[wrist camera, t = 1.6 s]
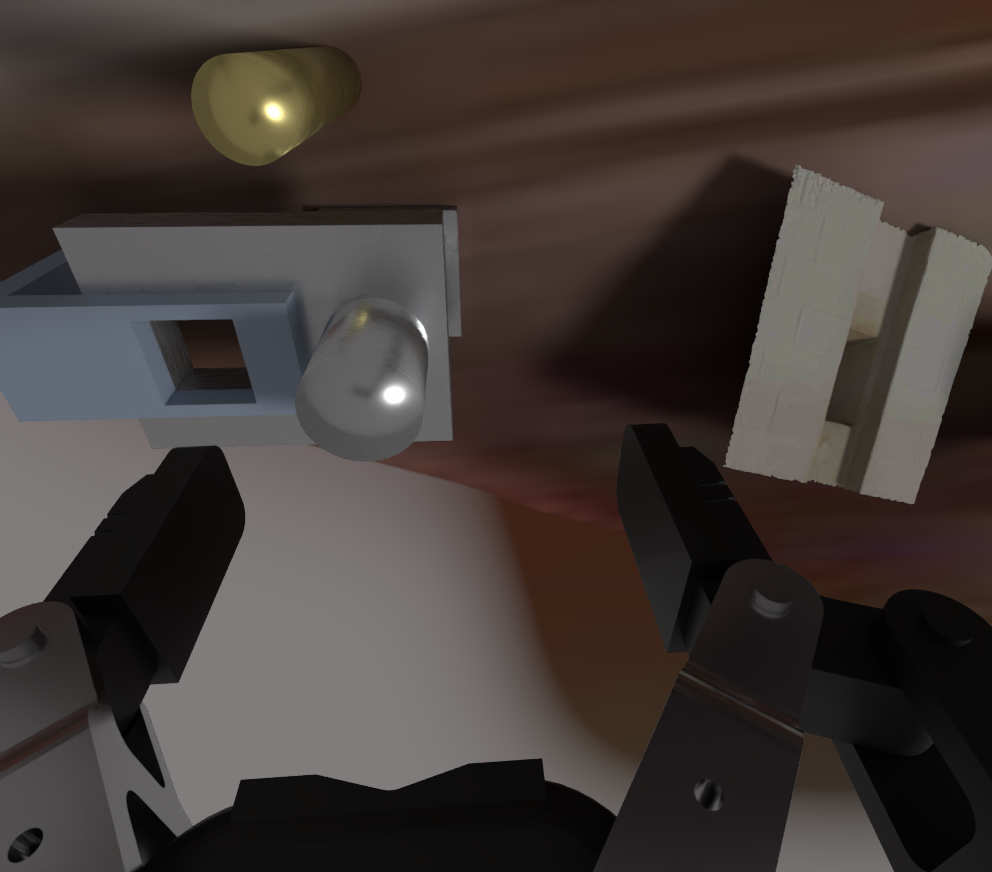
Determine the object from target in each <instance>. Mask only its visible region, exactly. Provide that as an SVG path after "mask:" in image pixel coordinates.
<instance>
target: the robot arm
mask: <svg viewBox="0 0 992 872" xmlns="http://www.w3.org/2000/svg"><path fill="white" fill-rule="evenodd" d="M617 503H618V509H619V513H620V516H621V519H622V522H623V525H624V528H625V531H626V534H627V537H628V540H629V543H630V546H631V548H632V551H633V554H634V557H635V560H636V563H637V566H638V569H639V572H640V575H641V578H642V581H643V584H644V587H645V590H646V592H647V596H648V598H649V601H650V604H651V607H652V610H653V613H654V616H655V619H656V622H657V625H658V628H659V631H660V634H661V637H662V640H663V643H664V645H665V648H666V651H667V653H672V652H688V654H689V659H688V661H687V663H686V665H685V667H684V669H682V670H681V671H680V673H679V675H678V677H677V679H676V682H675V684H674V686H673V689H672V691H671V693H670V695H669V698H668V700H667V702H666V705H665V707H664V709H663V711H662V714H661V716H660V718H659V721H658V723H657V725H656V728H655V730H654V732H653V735H652V737H651V739H650V741H649V744H648V746H647V748H646V751H645V753H644V755H643V758H642V760H641V762H640V765H639V767H638V769H637V772H636V774H635V776H634V778H633V781H632V783H631V785H630V788H629V790H628V792H627V795H626V797H625V799H624V802H623V804H622V806H621V808H620V811H619V813H618V816H617V817H616V816H615V815H614V814H613V813H612V812H611V811H610V810H608V809H606V808H605V807H604V806H602V805H601V804H600V803H598V802H597V801H595V800H594V799H592V798H590V797H588V796H587V795H584V794H583V793H581V792H579V791H577V790H575V789H572V788H569V787H567V786H564V785H562V784H559V783H555V782H550V781H546V780H545V779H544V772H543V762H542V758H541V759H527V760H513V761H501V762H500V761H499V762H485V763H471V764H467V765H464V766H461V767H458V768H455V769H453V770H450V771H447V772H445V773H442V774H439V775H436V776H433V777H431V778H427V779H425V780H422V781H419V782H416V783H414V784H411V785H408V786H405V787H402V788H400V789H396V790H389V791H388V790H381V789H377V788H372V787H368V786H364V785H359V784H355V783H351V782H346V781H342V780H338V779H333V778H329V777H324V776H320V775H303V776H288V777H274V778H261V779H247V780H241V781H240V784H239V788H238V791H237V795H236V798H235V802H234V805H233V806H231V807H228V808H226V809H224V810H222V811H219V812H217V813H215V814H213V815H211V816H209V817H207V818H206V819H204V820H202V821H201V822H199V823H197V824H196V825H194V826H192V824H191V822H190V820H189V818H188V817H187V815H186V813H185V812H184V809H183V808H182V806H181V804H180V801H179V799H178V797H177V794H176V791H175V789H174V786H173V783H172V780H171V777H170V774H169V771H168V769H167V765H166V762H165V759H164V757H163V754H162V751H161V748H160V745H159V742H158V739H157V736H156V733H155V730H154V728H153V725H152V721H151V719H150V716H149V713H148V710H147V708H146V706H145V705H144V703H143V702H142V700H143V698H144V696H145V694H146V692H147V690H148V688H149V685H151V684H164V683H165V684H166V683H178V682H179V680H180V678H181V675H182V673H183V671H184V668H185V666H186V664H187V662H188V659H189V657H190V655H191V652H192V650H193V648H194V645H195V643H196V641H197V638H198V636H199V633H200V631H201V629H202V627H203V625H204V622H205V620H206V618H207V615H208V613H209V611H210V608H211V606H212V604H213V601H214V599H215V597H216V594H217V592H218V590H219V587H220V585H221V583H222V580H223V578H224V576H225V574H226V571H227V569H228V566H229V564H230V562H231V559H232V557H233V555H234V553H235V550H236V548H237V545H238V543H239V541H240V539H241V536H242V534H243V531H244V526H245V509H244V504H243V501H242V499H241V496H240V493H239V491H238V488H237V486H236V484H235V481H234V478H233V476H232V474H231V471H230V469H229V466H228V463H227V461H226V458H225V456H224V454H223V452H222V450H221V449H220V448H219V447H218V446H216V445H211V446H191V447H175V448H173V449H172V450H170V452H169V453H168V454H167V456H166V457H165V459H164V460H163V462H162V463H161V465H160V466H159V467H158V469H157V470H156V472H155V473H154V474H149V475H146V476H144V477H143V478H142V479H140V480H139V481H138V482H137V483H135V484H134V485H133V486H131V487H130V488H129V489H127V490H126V491H125V492H124V493H123V494H122V495H121V496H120V497H119V499H118V500H117V501H116V503H115V504H114V506H113V507H112V508H111V510H110V511H109V513H108V514H107V516H108V517H107V518H105V519H103V521H102V522H101V523H100V525H99V526H98V527H97V529H96V530H95V535H94V536H91V537H90V538H89V540H88V541H87V542H86V544H85V545H84V547H83V548H82V549H81V551H80V552H79V553H78V555H77V556H76V557H75V559H74V560H73V562H72V563H71V564H70V566H69V567H68V568H67V570H66V571H65V572H64V574H63V575H62V577H61V578H60V579H59V581H58V582H57V583H56V585H55V586H54V587H53V589H52V590H51V592H50V593H49V594H48V596H47V597H46V598H45V600H44V601H43V602H39V603H35V604H31V605H27V606H25V607H22V608H19V609H17V610H14V611H12V612H10V613H8V614H6V615H4V616H3V617H1V618H0V872H776V868H777V863H778V858H779V854H780V849H781V845H782V840H783V836H784V831H785V826H786V821H787V817H788V813H789V808H790V804H791V799H792V794H793V790H794V785H795V781H796V776H797V771H798V767H799V762H800V757H801V752H802V747H803V739H804V734H803V731H804V732H808V733H811V734H815V735H819V736H823V737H827V738H831V739H832V741H833V743H834V745H835V747H836V749H837V752H838V754H839V756H840V758H841V760H842V762H843V764H844V766H845V769H846V771H847V772H848V775H849V777H850V779H851V781H852V783H853V785H854V788H855V790H856V791H857V794H858V796H859V798H860V800H861V802H862V805H863V807H864V809H865V811H866V813H867V815H868V817H869V819H870V821H871V824H872V826H873V828H874V830H875V832H876V834H877V836H878V838H879V840H880V843H881V845H882V847H883V849H884V851H885V853H886V855H887V857H888V859H889V862H890V864H891V866H892V868H893V870H894V872H992V627H991V626H990V625H989V624H988V623H987V622H986V621H985V620H984V619H983V618H982V617H980V616H979V615H978V614H977V613H975V612H974V611H972V610H971V609H970V608H968V607H966V606H965V605H963V604H961V603H959V602H957V601H955V600H953V599H951V598H949V597H946V596H944V595H941V594H938V593H934V592H931V591H925V590H915V589H911V590H903V591H900V592H897V593H895V594H893V595H892V596H891V597H890V598H889V599H888V601H887V602H886V604H885V606H884V607H883V609H880V608H875V607H870V606H865V605H860V604H855V603H850V602H845V601H840V600H835V599H831V598H827V597H824V596H821V595H819V594H818V592H817V590H816V589H815V588H814V587H813V585H812V584H811V583H810V582H809V581H808V580H807V579H806V578H804V577H803V576H802V575H800V574H799V573H798V572H796V571H794V570H793V569H791V568H789V567H787V566H784V565H782V564H779V563H776V562H773V560H772V559H771V557H770V556H769V554H768V552H767V551H766V549H765V547H764V546H763V544H762V542H761V541H760V539H759V537H758V536H757V534H756V532H755V531H754V529H753V527H752V526H751V524H750V522H749V521H748V519H747V517H746V516H745V514H744V512H743V511H742V509H741V507H740V506H739V504H738V502H737V501H735V500H734V496H733V494H732V492H731V491H730V489H729V487H728V486H727V485H725V481H724V479H723V477H722V476H721V474H720V472H719V471H718V469H717V467H716V466H715V464H714V462H712V461H711V460H710V459H708V458H707V457H706V456H705V455H703V454H702V453H701V452H699V451H698V450H697V449H696V448H694V447H679V445H678V443H677V442H676V440H675V438H674V436H673V434H672V432H671V430H670V429H669V427H668V425H667V424H665V423H657V424H637V425H627V426H626V428H625V431H624V436H623V443H622V450H621V457H620V464H619V471H618V479H617Z"/></svg>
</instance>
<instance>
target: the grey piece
mask: <svg viewBox="0 0 992 872" xmlns="http://www.w3.org/2000/svg"><path fill="white" fill-rule="evenodd" d="M53 230H54V233H55V235H56V237H57V239H58V241H59V244H60V246H61V248H62V250H63V253H64V255H65V257H66V259H67V261H68V264H69V266H70V268H71V270H72V272H73V275H74V277H75V279H76V281H77V284H78V286H79V288H80V290H81V292H82V295H86V294H153V293H220V292H286V291H293V296H294V301H295V305H296V310H297V314H298V319H299V324H300V328H301V333H302V337H303V342H304V346H305V351H306V356H307V360H308V366H307V369H306V371H305V373H304V375H303V377H302V380H301V382H300V384H299V386H298V389H297V392H296V397H295V410H296V414H288V415H250V416H211V417H172V418H138V419H139V421H140V423H141V425H142V428H143V430H144V432H145V434H146V437H147V439H148V441H149V443H150V445H151V448H152V449H164V448H175V447H191V446H211V445H216V446H218V447H232V446H233V447H234V446H267V445H304V444H317V445H318V446H320V447H321V448H322V449H324V450H326V451H327V452H329V453H331V454H334V455H336V456H338V457H342V458H344V459H349V460H354V461H377V460H383V459H386V458H389V457H392V456H394V455H397V454H398V453H400V452H402V451H403V450H405V449H406V448H407V447H408V446H409V445H410V444H411V443H412V442H413V441H445V440H453V409H452V388H451V367H450V346H449V336H461V312H460V283H459V253H458V223H457V206H454V207H323V208H320V209H319V210H318V212H217V213H92V214H81V215H79V216H77V217H75V218H72V219H70V220H68V221H66V222H64V223H62V224H60V225H58V226H56V227H53ZM149 322H150V325H151V328H152V330H153V333H154V335H155V338H156V340H157V343H158V346H159V348H160V351H161V353H162V356H163V358H164V361H165V364H166V366H167V369H168V371H169V374H170V376H171V379H172V382H173V384H174V387H175V389H176V391H188V390H230V389H253V388H252V385H251V382H250V378H249V375H248V371H247V368H246V367H237V368H193V365H192V362H191V359H190V356H189V354H188V351H187V348H186V345H185V342H184V340H183V337H182V334H181V331H180V328H179V326H178V323H177V320H156V321H149Z"/></svg>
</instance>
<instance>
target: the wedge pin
mask: <svg viewBox="0 0 992 872" xmlns="http://www.w3.org/2000/svg"><path fill="white" fill-rule="evenodd" d="M360 93H361V77H360V74H359V71H358V68H357V66H356V64H355V63H354V61H353V60H352V59H351V58H350V56H349V55H347V54H346V53H345V52H344V51H342V50H340V49H338V48H336V47H332V46H322V47H309V48H296V49H283V50H270V51H257V52H244V53H231V54H222V55H218V56H215V57H213V58H211V59H209V60H208V61H206V62H205V63H204V64H203V65H202V66H201V67H200V69H199V70H198V71H197V73H196V75H195V78H194V81H193V84H192V90H191V100H192V108H193V112H194V115H195V118H196V121H197V123H198V126H199V128H200V129H201V131H202V133H203V134H204V136H205V137H206V139H207V140H208V141H209V142H210V143H211V145H212V146H213V147H214V148H215V149H217V150H218V151H219V152H220V153H221V154H223V155H224V156H226V157H227V158H229V159H231V160H233V161H235V162H238V163H241V164H244V165H249V166H261V165H266V164H269V163H271V162H273V161H275V160H277V159H278V158H280V157H281V156H283V155H284V154H286V153H287V152H289V151H290V150H291V149H293V148H294V147H296V146H297V145H299V144H300V143H302V142H303V141H305V140H306V139H308V138H309V137H311V136H312V135H313V134H315V133H316V132H318V131H319V130H321V129H322V128H324V127H325V126H327V125H328V124H330V123H331V122H333V121H334V120H335V119H337V118H338V117H340V116H341V115H343V114H344V113H346V112H347V111H349V110H350V109H351V108H353V107H354V105H355V104H356V103H357V101H358V99H359V97H360Z"/></svg>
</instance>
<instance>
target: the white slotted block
mask: <svg viewBox="0 0 992 872" xmlns="http://www.w3.org/2000/svg"><path fill="white" fill-rule="evenodd" d="M793 174H794V175H793V178H794V182H792V183H791V185H792V187H791V188H790V192H789V193H788V201H787V203H788V205H786V210H785V212H784V214H785V215H784V219H783V220H782V221H783V224H782V226H781V229H780V231H779V232H780V233H779V234H778V235H779V237H780V239H778V240H777V243H776V249H775V250H776V252H777V253H776V252H775V254H774V256H775V257H773V262H772V263H771V266H772V267H771V270H770V272H769V276H770V277H769V278H768V286H767V287H766V292H765V295H764V296H765V299H764V300H763V302H762V303H763V307H761V313H760V320H759V324H758V326H757V328H758V331H757V333H756V334H755V335H756V338H755V342H754V343H753V345H752V354H751V356H750V358H751V359H750V360H749V363H750V367H749V369H748V372H747V373H746V378H745V382H744V387H743V389H742V395H741V396H740V397H741V398H740V399H741V400H740V402H739V408H738V409H739V410H738V411H737V414H736V417H735V423H734V427H733V429H732V431H733V432H734V434H733V435H732V436H731V441H730V442H729V443H730V447H728V451H729V452H728V453H727V454H726V461H725V462H726V464H727V465H724V466H723V467H726V466H727V467H729V468H732V469H737V470H740V471H742V470H743V471H744V472H748V471H749V472H752V473H757V474H759V473H760V474H761V475H767V476H769V477H771V475H773V476H774V477H777V478H780V479H785V480H786V479H788V480H792V481H793V480H794V479H796V480H798V481H800V482H801V483H807V480H808V481H809V480H810V481H811V480H813V479H814V482H816V481H818V482H819V483H820V482H821V483H823V484H824V485H825V484H826V483H827V485H833V486H836V485H840V486H841V487H843V488H844V489H845V488H846V490H850V489H851V490H852V491H853V490H854V491H855V492H856V491H857V492H858V493H860V494H864V495H865V494H867V495H869V494H870V496H871V495H872V496H873V497H879V496H880V497H881V498H884V499H888V498H890V499H889V500H892V501H893V500H897V501H899V502H900V501H901V502H902V501H904V502H906V504H907V503H910V504H914V502H915V499H916V496H917V492H918V490H919V486H920V484H919V483H920V482H921V480H922V477H923V476H924V473H925V470H924V469H926V468H927V467H926V466H927V465H928V461H929V459H930V456H931V450H932V449H933V446H934V445H935V440H936V439H935V438H936V437H937V433H938V430H939V427H940V424H941V422H942V415H943V413H944V412H945V407H946V404H947V402H948V396H949V395H950V391H951V388H952V384H953V381H954V377H955V376H956V372H957V370H958V367H959V363H960V361H961V358H962V354H963V351H964V348H965V347H966V345H967V342H968V338H969V336H968V334H969V333H971V332H970V329H972V328H973V321H974V320H975V315H976V313H977V309H978V307H979V304H980V302H981V297H982V295H983V294H982V293H983V291H984V286H985V285H986V284H987V282H988V280H987V277H988V276H989V274H990V272H991V269H992V256H991V255H990V253H989V252H988V250H987V249H986V248H985V247H984V246H982V245H981V244H980V245H978V246H977V243H976V242H975V243H974V242H970V240H965V239H966V238H964V237H963V236H961V235H960V236H959V237H958V238H957V236H956V234H953V233H952V232H951V233H949V232H948V231H947V230H944V228H943V230H942V229H941V228H936V227H933V228H931V229H930V230H928V231H924V232H921V233H918V235H915V236H912V237H910V236H909V235H908V234H907V232H906V231H904V230H903V229H902V231H901V230H900V228H899V227H897V228H895V226H892V225H889V223H887V222H884V223H883V222H881V220H880V216H881V212H882V209H883V206H884V203H883V202H880V200H879V199H876V198H871V197H869V196H868V195H863V194H861V193H859V192H857V191H855V190H854V189H851V188H850V187H849V188H848V187H845V186H844V185H842V186H841V187H840V186H839V183H838V182H837V183H834V182H831V180H830V178H829V179H828V180H827V178H825V177H821V174H814V171H809V170H805V169H802V168H801V166H800V165H799V166H798V165H795V169H794V170H793ZM772 268H773V269H772Z"/></svg>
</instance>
